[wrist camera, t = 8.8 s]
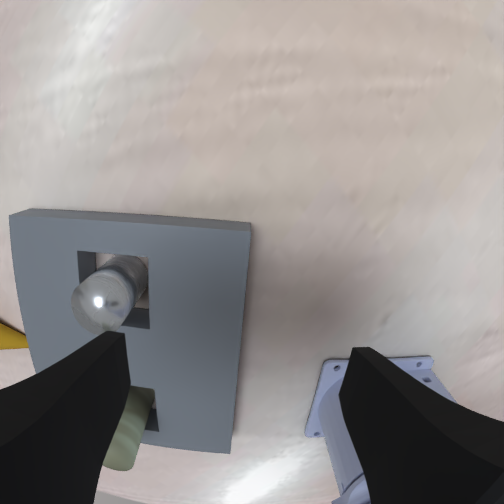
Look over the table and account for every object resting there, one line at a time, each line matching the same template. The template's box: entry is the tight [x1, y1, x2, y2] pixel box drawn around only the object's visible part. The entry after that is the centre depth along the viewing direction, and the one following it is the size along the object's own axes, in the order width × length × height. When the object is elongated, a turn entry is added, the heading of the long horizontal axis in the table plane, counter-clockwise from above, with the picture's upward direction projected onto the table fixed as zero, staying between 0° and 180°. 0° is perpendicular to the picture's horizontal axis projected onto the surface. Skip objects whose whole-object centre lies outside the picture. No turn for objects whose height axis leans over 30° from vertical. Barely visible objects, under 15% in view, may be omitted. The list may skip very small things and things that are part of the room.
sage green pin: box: [103, 385, 155, 471], centre depth 19 cm, size 3×3×7 cm
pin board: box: [9, 209, 251, 454], centre depth 20 cm, size 15×17×2 cm
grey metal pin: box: [71, 254, 148, 335], centre depth 17 cm, size 3×3×5 cm
